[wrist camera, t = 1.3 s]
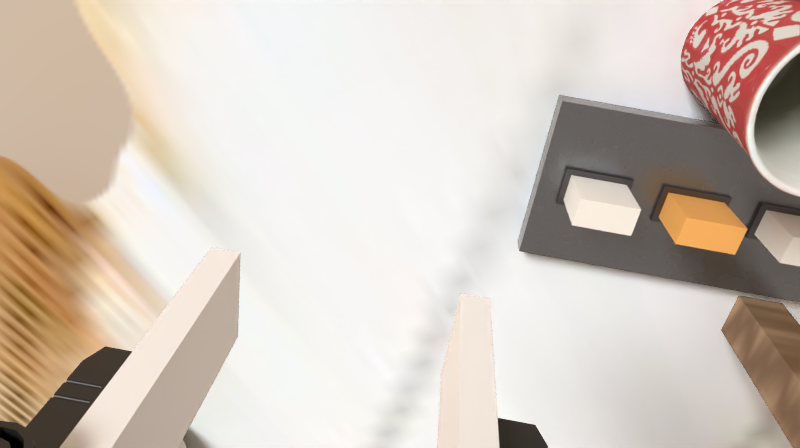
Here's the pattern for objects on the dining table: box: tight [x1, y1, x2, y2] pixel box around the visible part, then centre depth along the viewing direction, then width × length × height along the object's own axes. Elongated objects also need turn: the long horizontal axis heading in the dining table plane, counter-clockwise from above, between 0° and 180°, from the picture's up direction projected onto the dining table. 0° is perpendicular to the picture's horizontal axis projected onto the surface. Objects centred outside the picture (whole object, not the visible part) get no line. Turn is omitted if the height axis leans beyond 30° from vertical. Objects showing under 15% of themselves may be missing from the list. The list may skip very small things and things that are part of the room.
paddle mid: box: [659, 193, 747, 255], centre depth 41 cm, size 2×4×4 cm, turn 81°
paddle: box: [564, 175, 641, 236], centre depth 41 cm, size 2×4×4 cm, turn 81°
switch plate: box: [518, 95, 800, 302], centre depth 44 cm, size 12×22×2 cm, turn 81°
